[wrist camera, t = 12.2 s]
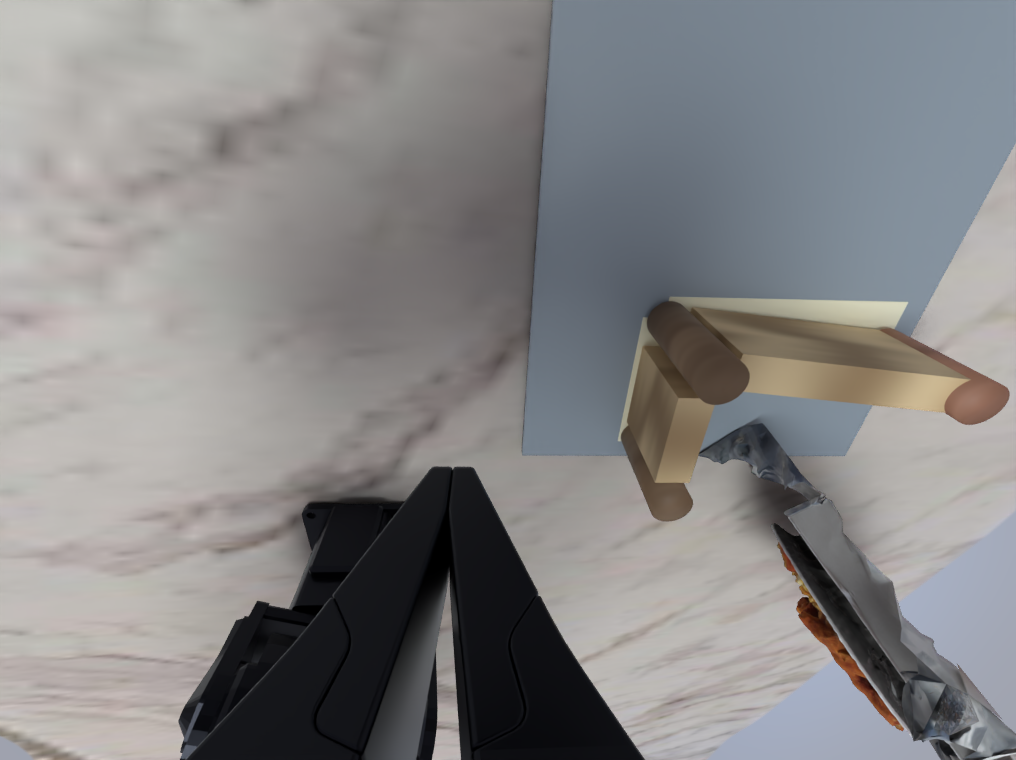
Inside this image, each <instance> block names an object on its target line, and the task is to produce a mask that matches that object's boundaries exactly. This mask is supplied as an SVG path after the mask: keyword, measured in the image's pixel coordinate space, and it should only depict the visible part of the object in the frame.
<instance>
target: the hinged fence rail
mask: <svg viewBox="0 0 1016 760" xmlns="http://www.w3.org/2000/svg"><path fill="white" fill-rule="evenodd" d="M647 328H648V331H649V332H650V334H651V335H652V336H653V338H654V339H655V340H656V342H657V343H658V344H659V346H660V347H661V348H662V350H663V351H664V352H665V353H666V355H667V356H668V357H669V359H670V360H671V361H672V363H673V364H674V365H675V367H676V368H677V369H678V371H679V372H680V373H681V375H682V376H683V377H684V378H685V380H686V381H687V382H688V384H689V385H690V386H691V388H692V389H693V390H694V392H695V393H696V394H697V396H698V397H699V398H700V399H701V400H702V401H703V402H705V403H707V404H711V405H721V404H725V403H728V402H731V401H733V400H734V399H736V398H737V397H739V396H740V395H741V394H742V393H743V392H750V393H759V394H769V395H779V396H788V397H798V398H808V399H818V400H827V401H837V402H847V403H856V404H866V405H876V406H885V407H895V408H905V409H915V410H924V411H934V412H944V413H946V414H948V415H949V416H951V417H952V418H954V419H955V420H957V421H958V422H960V423H962V424H966V425H973V424H978V423H981V422H984V421H986V420H988V419H990V418H991V417H993V416H994V415H996V414H997V413H998V412H999V411H1001V410H1002V408H1003V407H1004V406H1005V405H1006V403H1007V401H1008V399H1009V390H1008V388H1007V387H1005V386H1003V385H1001V384H999V383H998V382H996V381H994V380H992V379H990V378H988V377H986V376H984V375H982V374H980V373H978V372H976V371H974V370H972V369H970V368H969V367H967V366H965V365H963V364H961V363H959V362H957V361H955V360H953V359H951V358H949V357H947V356H945V355H943V354H942V353H940V352H938V351H936V350H934V349H932V348H930V347H928V346H926V345H924V344H922V343H920V342H918V341H916V340H914V339H913V338H911V337H909V336H907V335H905V334H903V333H901V332H899V331H897V330H895V329H892V328H885V329H881V330H875V329H867V328H858V327H850V326H842V325H834V324H826V323H818V322H810V321H802V320H794V319H785V318H777V317H769V316H761V315H753V314H745V313H737V312H729V311H720V310H712V309H704V308H696V307H692V309H691V311H690V312H689V311H688V310H687V309H686V308H685V307H684V306H683V305H682V304H680V303H678V302H674V301H668V302H664V303H661V304H659V305H658V306H656V307H655V308H654V309H653V310H652V311H651V313H650V314H649V316H648V319H647Z"/></svg>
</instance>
